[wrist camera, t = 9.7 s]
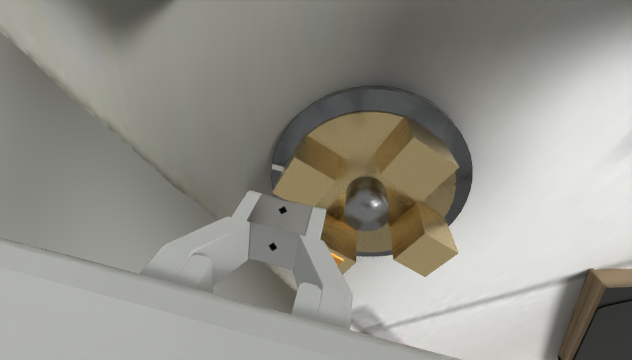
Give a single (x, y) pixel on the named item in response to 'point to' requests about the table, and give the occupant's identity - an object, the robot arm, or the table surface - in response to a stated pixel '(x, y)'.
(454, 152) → the base plate
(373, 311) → the table surface
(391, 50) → the table surface
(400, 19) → the table surface
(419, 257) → the four-lug gold disc
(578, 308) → the file folder
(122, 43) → the table surface
